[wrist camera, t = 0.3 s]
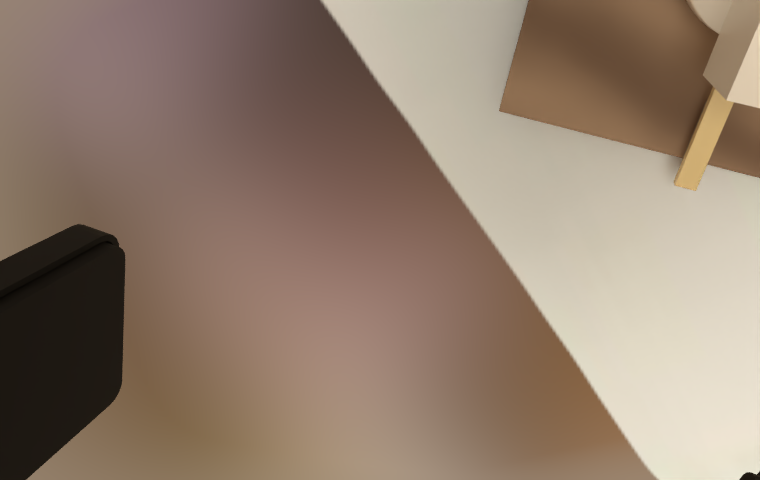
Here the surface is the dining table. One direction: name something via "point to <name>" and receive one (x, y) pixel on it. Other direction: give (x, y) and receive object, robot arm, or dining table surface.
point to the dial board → (625, 76)
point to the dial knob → (724, 77)
